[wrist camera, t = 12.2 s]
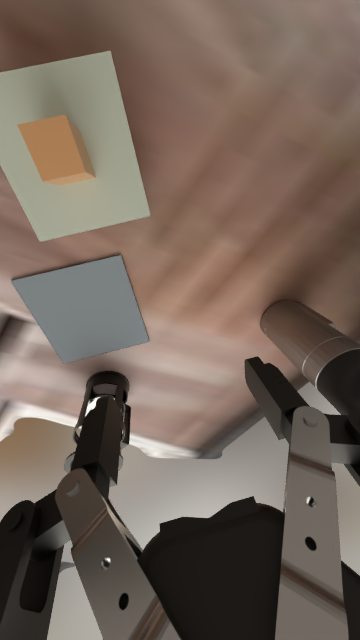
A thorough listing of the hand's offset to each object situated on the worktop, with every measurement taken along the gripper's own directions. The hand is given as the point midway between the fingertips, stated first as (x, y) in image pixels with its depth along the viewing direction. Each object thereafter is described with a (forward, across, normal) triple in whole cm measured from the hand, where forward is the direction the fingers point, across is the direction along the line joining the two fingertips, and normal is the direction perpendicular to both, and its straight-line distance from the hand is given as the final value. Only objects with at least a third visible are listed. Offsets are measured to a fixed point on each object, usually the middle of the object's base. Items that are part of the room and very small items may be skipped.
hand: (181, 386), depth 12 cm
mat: (+28, +14, +6) cm, 32 cm away
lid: (+22, +6, -15) cm, 27 cm away
